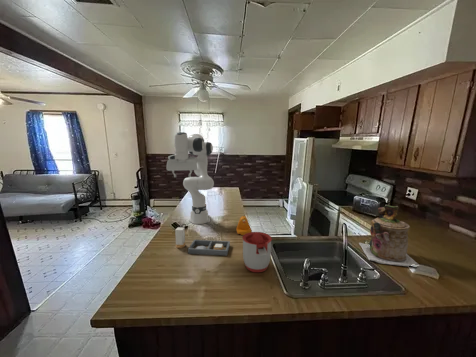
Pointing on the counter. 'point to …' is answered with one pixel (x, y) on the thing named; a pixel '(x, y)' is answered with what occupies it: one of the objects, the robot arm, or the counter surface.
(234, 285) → the counter surface
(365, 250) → the cookie jar
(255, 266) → the citrus juicer
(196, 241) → the grey divided tray
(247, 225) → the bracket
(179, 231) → the white upright block
